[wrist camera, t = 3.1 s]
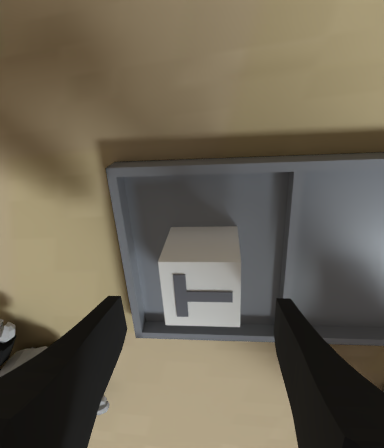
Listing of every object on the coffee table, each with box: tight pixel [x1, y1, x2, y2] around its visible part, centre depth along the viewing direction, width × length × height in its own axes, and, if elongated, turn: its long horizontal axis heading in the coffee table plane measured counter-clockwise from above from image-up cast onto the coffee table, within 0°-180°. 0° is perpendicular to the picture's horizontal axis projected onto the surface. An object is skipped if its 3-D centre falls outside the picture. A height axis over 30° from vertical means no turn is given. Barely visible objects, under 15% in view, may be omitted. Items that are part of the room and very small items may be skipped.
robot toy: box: [0, 319, 109, 415], centre depth 24 cm, size 12×4×15 cm
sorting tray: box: [106, 152, 384, 346], centre depth 18 cm, size 12×20×2 cm, turn 93°
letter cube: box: [158, 226, 241, 327], centre depth 17 cm, size 4×4×4 cm
